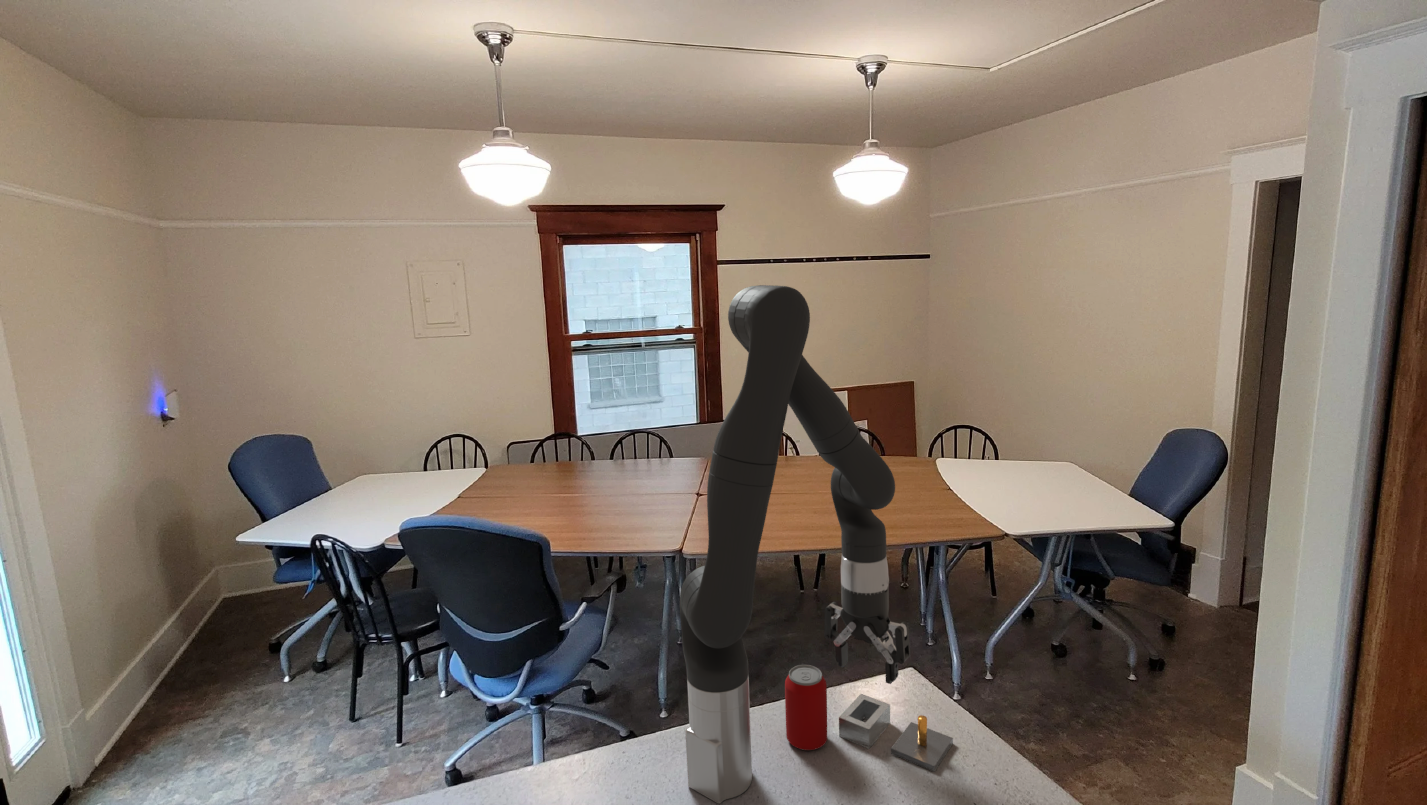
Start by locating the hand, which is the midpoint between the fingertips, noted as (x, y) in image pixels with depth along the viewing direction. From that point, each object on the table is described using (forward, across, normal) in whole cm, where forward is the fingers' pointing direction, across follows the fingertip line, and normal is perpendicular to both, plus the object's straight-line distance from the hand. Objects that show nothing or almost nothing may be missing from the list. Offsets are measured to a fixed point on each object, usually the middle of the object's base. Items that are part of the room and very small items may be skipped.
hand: (866, 672), depth 111 cm
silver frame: (+10, 0, 0) cm, 10 cm away
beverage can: (+10, -7, -8) cm, 15 cm away
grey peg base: (+10, +9, +1) cm, 14 cm away
